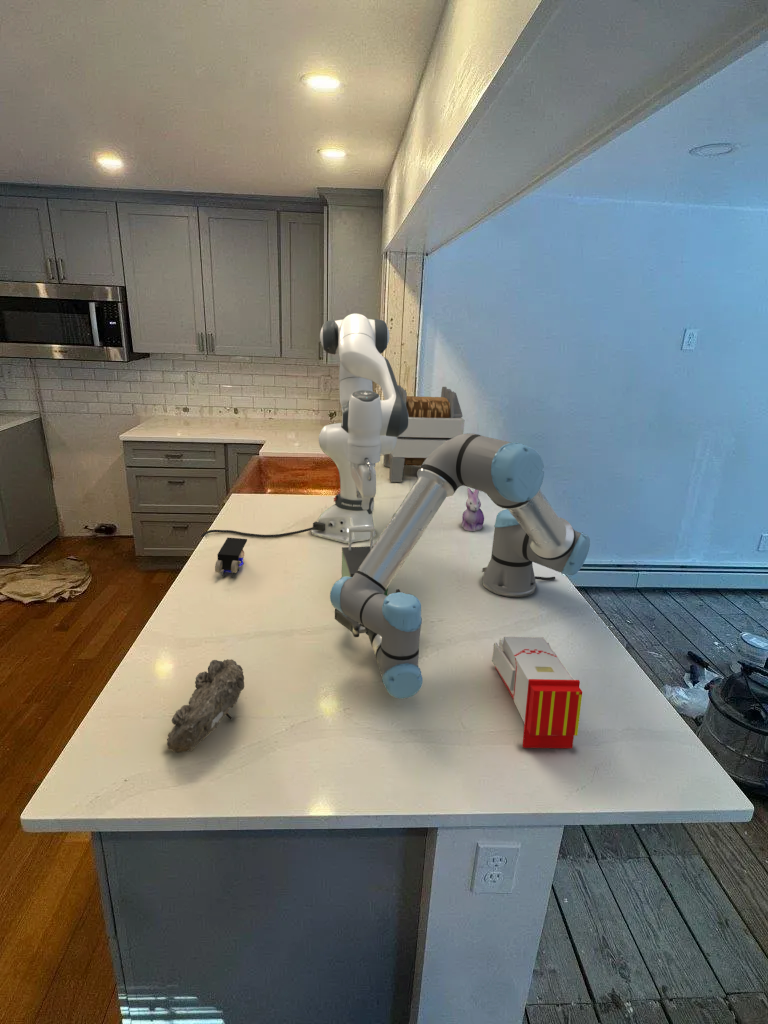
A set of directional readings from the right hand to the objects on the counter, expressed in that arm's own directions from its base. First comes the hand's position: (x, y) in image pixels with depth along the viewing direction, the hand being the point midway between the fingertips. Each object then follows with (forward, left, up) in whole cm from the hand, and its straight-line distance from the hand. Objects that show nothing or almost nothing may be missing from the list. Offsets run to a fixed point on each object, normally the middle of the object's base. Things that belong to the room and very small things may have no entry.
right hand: (371, 595), depth 142 cm
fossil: (+36, +32, -7) cm, 49 cm away
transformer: (-48, -132, -7) cm, 140 cm away
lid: (-1, -14, +3) cm, 14 cm away
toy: (-27, +36, -7) cm, 45 cm away
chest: (-1, -14, -7) cm, 15 cm away
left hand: (-1, -20, +18) cm, 27 cm away
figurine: (-49, -59, -7) cm, 77 cm away
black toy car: (+36, -33, -7) cm, 49 cm away
